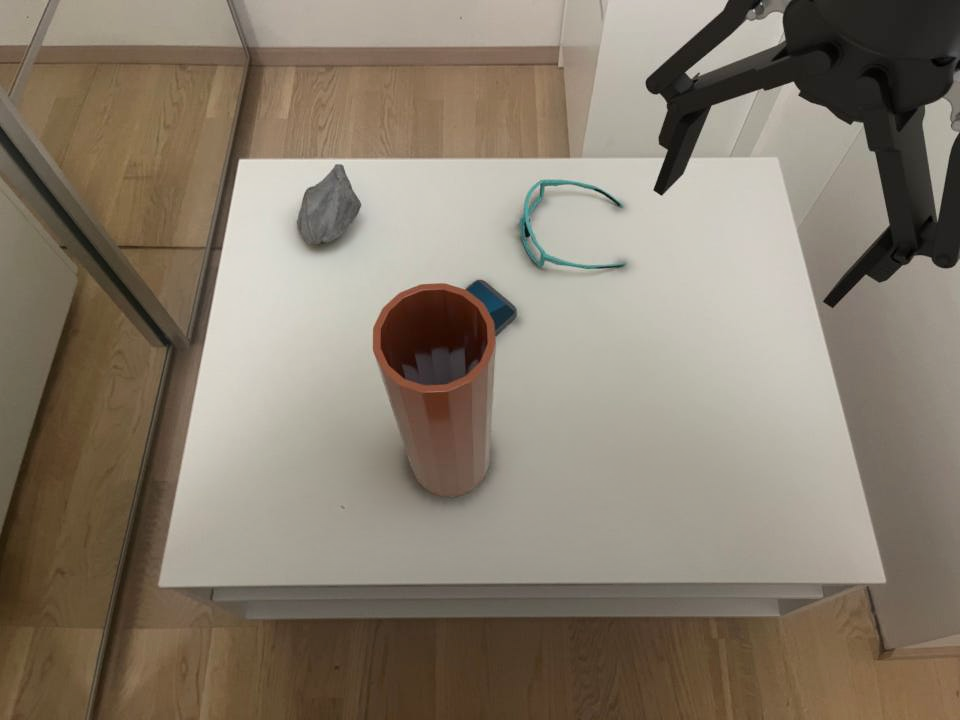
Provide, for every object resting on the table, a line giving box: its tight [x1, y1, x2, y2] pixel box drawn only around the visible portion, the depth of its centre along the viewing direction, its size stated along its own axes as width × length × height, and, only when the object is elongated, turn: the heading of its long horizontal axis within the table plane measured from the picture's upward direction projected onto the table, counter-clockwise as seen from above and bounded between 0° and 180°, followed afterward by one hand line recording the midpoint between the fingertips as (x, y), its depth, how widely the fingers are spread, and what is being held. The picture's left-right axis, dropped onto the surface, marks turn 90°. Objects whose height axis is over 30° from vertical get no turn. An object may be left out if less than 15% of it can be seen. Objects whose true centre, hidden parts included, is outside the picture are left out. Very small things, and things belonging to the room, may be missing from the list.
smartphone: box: [464, 279, 518, 337], centre depth 86 cm, size 8×15×1 cm, turn 135°
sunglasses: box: [519, 179, 628, 270], centre depth 91 cm, size 14×15×5 cm
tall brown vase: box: [372, 282, 497, 498], centre depth 65 cm, size 9×9×32 cm
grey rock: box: [296, 163, 362, 245], centre depth 90 cm, size 11×9×8 cm
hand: (749, 235), depth 46 cm, fingers open, 13 cm apart
